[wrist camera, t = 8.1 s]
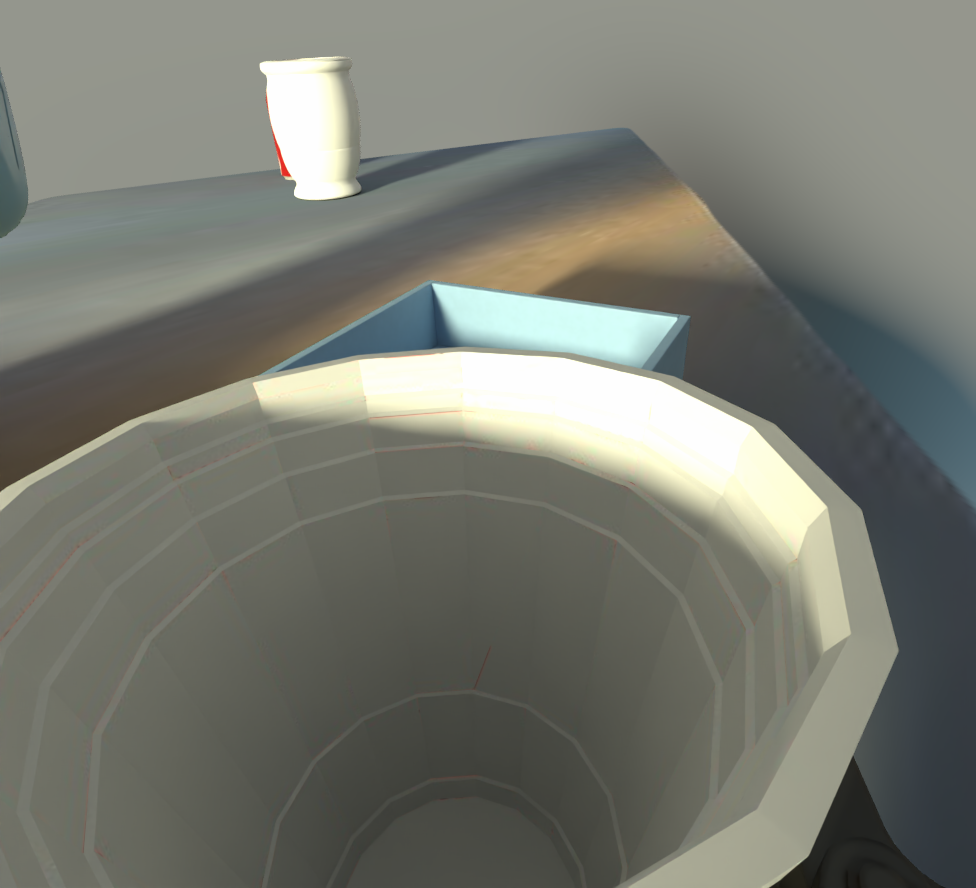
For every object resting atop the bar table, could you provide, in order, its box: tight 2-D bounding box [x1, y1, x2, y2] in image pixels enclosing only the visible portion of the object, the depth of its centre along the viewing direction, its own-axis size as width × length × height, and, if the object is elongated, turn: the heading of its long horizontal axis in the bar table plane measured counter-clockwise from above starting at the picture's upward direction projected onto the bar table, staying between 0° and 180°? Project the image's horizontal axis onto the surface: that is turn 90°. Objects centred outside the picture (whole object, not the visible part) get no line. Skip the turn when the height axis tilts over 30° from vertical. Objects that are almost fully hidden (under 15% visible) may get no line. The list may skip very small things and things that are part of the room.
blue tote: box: [258, 280, 691, 380], centre depth 29 cm, size 15×15×5 cm
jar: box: [260, 57, 361, 200], centre depth 78 cm, size 11×10×15 cm
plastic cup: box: [0, 347, 899, 888], centre depth 11 cm, size 11×11×12 cm
